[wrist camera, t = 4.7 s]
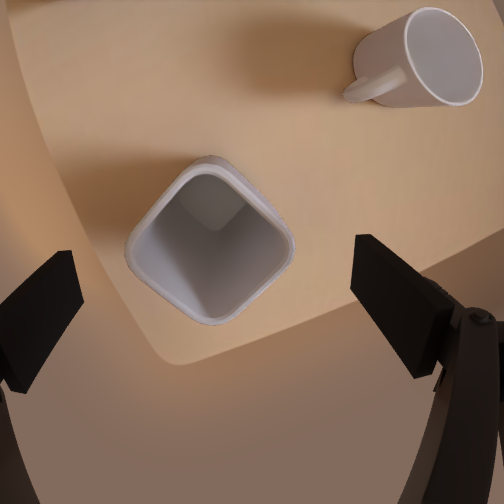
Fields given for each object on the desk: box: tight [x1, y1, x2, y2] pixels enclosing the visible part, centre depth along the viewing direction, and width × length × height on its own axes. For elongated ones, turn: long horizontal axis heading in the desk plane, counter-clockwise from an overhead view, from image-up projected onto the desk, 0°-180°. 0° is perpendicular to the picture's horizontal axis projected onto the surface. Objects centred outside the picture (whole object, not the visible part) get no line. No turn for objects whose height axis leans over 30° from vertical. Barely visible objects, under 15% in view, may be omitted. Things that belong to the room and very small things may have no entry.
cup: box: [125, 155, 296, 326], centre depth 23 cm, size 7×7×15 cm
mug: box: [343, 7, 483, 108], centre depth 22 cm, size 12×8×10 cm
